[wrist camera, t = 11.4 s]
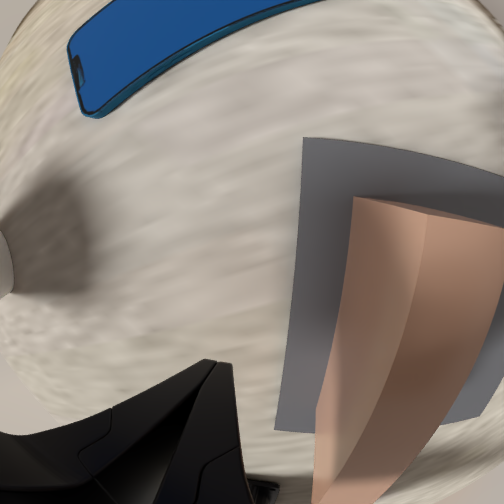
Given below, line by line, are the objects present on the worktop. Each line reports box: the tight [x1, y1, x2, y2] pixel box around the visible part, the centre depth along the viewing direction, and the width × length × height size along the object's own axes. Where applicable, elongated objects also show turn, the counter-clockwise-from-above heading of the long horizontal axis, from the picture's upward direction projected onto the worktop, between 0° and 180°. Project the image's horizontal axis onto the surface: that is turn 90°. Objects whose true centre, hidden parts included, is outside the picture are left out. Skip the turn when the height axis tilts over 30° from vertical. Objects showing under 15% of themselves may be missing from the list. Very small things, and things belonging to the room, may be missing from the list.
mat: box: [274, 137, 504, 433], centre depth 9 cm, size 14×14×1 cm
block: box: [311, 196, 504, 504], centre depth 7 cm, size 10×2×6 cm, turn 178°
